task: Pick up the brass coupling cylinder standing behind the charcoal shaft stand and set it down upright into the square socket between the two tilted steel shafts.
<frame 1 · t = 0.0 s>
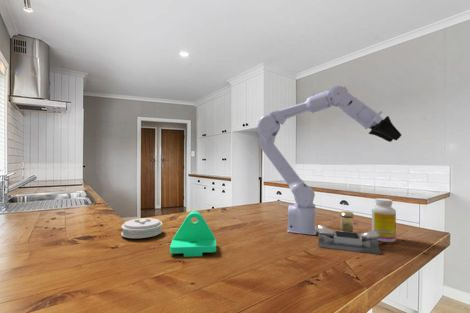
hand: (395, 138, 80), 32 cm above the worktop, tool tilted 50°, fingers open, 7 cm apart
coupling: (346, 232, 88), on the worktop
lid: (142, 235, 84), on the worktop
supplement bottle: (383, 240, 81), on the worktop
shaft stand: (346, 244, 76), on the worktop
camera mount: (193, 252, 69), on the worktop
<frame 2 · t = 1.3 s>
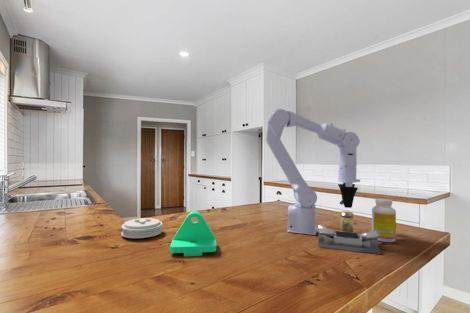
hand: (347, 205, 89), 9 cm above the worktop, tool pointing down, fingers open, 7 cm apart
nothing on the worktop moved.
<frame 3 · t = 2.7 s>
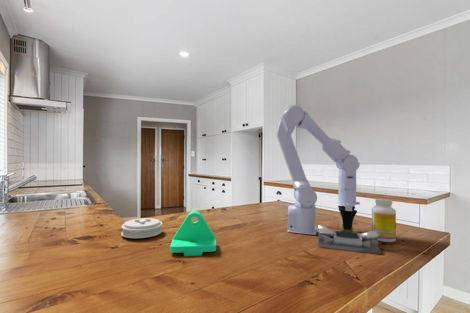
hand: (346, 227, 88), 2 cm above the worktop, tool pointing down, fingers closed on coupling, 4 cm apart
coupling: (346, 232, 88), on the worktop, touching gripper
everything else where it was.
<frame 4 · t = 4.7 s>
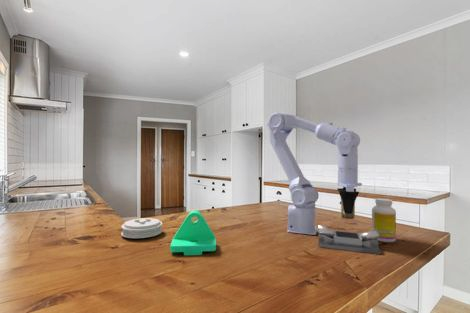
hand: (347, 212, 80), 9 cm above the worktop, tool pointing down, fingers closed on coupling, 4 cm apart
coupling: (347, 217, 80), point 7 cm above the worktop, touching gripper
everything else where it was.
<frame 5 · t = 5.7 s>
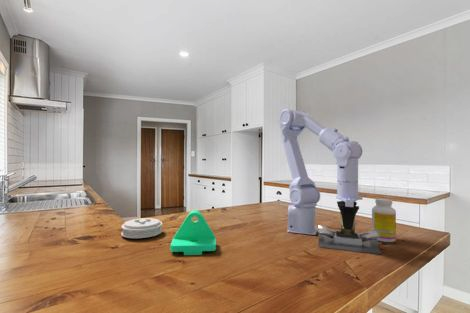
hand: (347, 227, 76), 5 cm above the worktop, tool pointing down, fingers closed on coupling, 4 cm apart
coupling: (347, 232, 76), point 4 cm above the worktop, touching gripper
when the fingers open (4 cm above the worktop, at t = 6.7 s): coupling drops 1 cm, resting on shaft stand.
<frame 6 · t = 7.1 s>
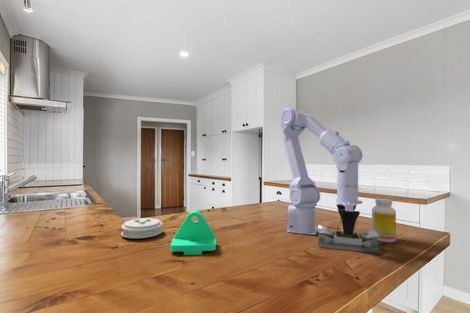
hand: (347, 231, 76), 4 cm above the worktop, tool pointing down, fingers open, 7 cm apart
coupling: (347, 241, 76), point 1 cm above the worktop, touching shaft stand
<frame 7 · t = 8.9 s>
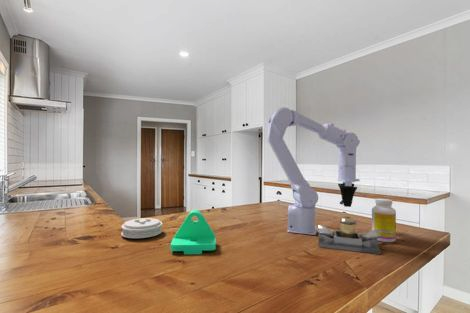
hand: (346, 204, 90), 9 cm above the worktop, tool pointing down, fingers open, 7 cm apart
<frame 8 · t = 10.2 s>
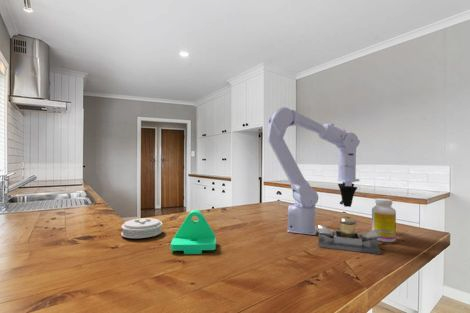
hand: (346, 204, 90), 9 cm above the worktop, tool pointing down, fingers open, 7 cm apart
at the end: coupling 0.2 cm off-centre on the shaft stand, point 1.0 cm above the shaft stand's base; coupling tilted 0°; the gripper is holding nothing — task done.
